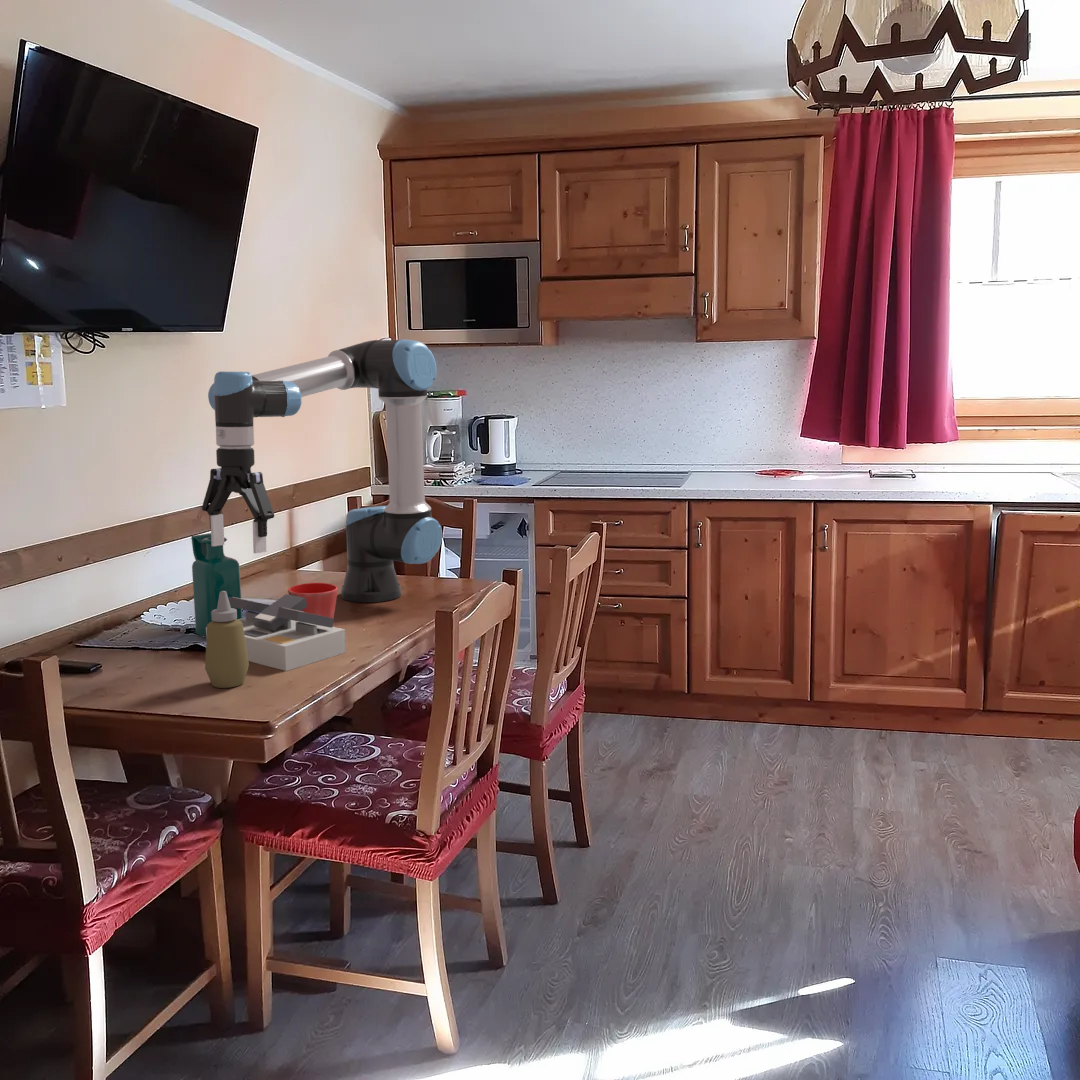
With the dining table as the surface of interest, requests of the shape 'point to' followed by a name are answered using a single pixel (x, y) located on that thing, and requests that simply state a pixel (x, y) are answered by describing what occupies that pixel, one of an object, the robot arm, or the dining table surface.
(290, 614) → the rocker
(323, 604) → the flower pot
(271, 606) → the rocker
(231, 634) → the squeeze bottle
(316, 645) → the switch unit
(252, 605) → the rocker
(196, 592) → the pitcher
